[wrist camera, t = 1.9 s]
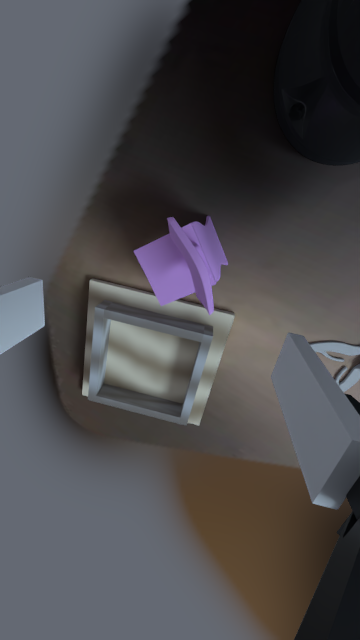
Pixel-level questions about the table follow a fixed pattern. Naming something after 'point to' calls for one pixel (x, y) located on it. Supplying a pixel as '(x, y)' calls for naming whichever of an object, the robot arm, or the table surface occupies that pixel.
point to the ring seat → (151, 352)
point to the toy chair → (184, 262)
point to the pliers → (342, 348)
